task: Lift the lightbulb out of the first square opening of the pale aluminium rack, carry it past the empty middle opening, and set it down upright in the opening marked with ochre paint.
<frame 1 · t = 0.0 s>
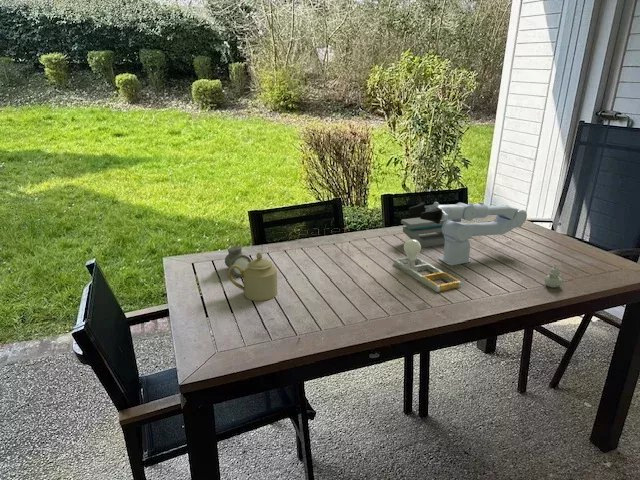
hand: (414, 213, 161), 22 cm above the table, fingers open, 7 cm apart
rack: (424, 274, 163), on the table
sugar bowl: (256, 295, 148), on the table
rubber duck: (552, 286, 152), on the table
lightbulb: (411, 267, 170), resting in rack
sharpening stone: (429, 243, 196), on the table
pipe fitting: (237, 272, 168), on the table
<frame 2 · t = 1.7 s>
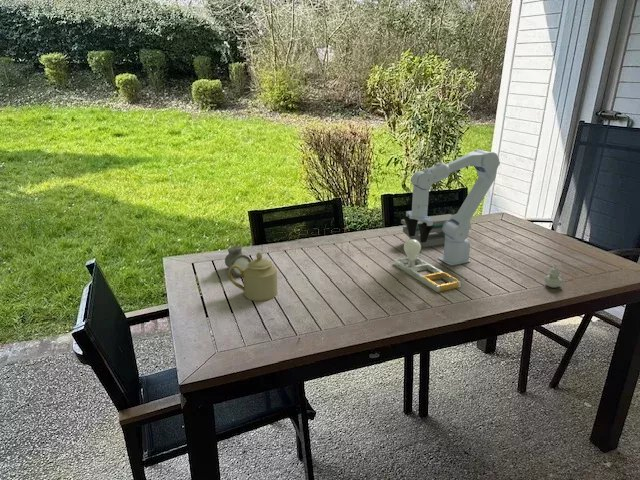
hand: (417, 239, 169), 10 cm above the table, fingers open, 7 cm apart
nothing on the table moved.
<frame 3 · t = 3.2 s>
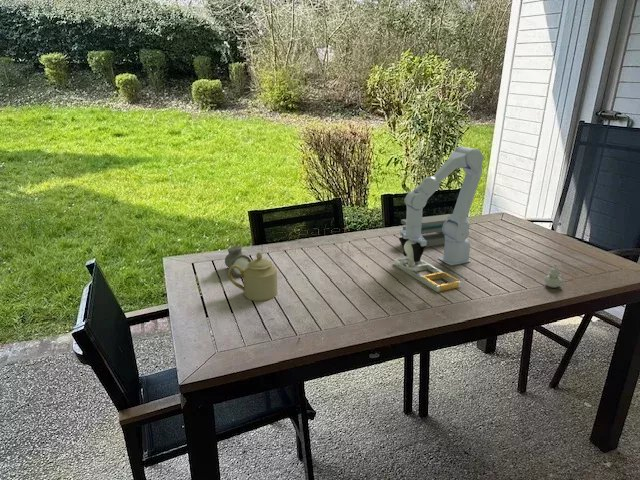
hand: (411, 258, 169), 3 cm above the table, fingers closed on lightbulb, 6 cm apart
lightbulb: (411, 267, 170), resting in rack, touching gripper
everything else where it was.
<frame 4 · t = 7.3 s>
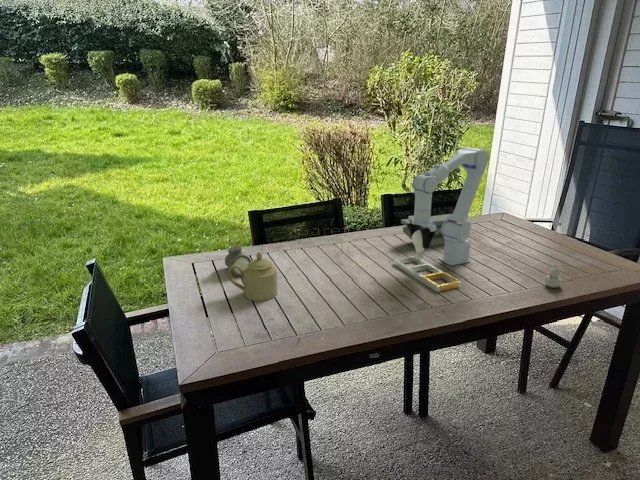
hand: (420, 244, 163), 10 cm above the table, fingers closed on lightbulb, 6 cm apart
lightbulb: (419, 259, 164), point 5 cm above the table, touching gripper
everything else where it was.
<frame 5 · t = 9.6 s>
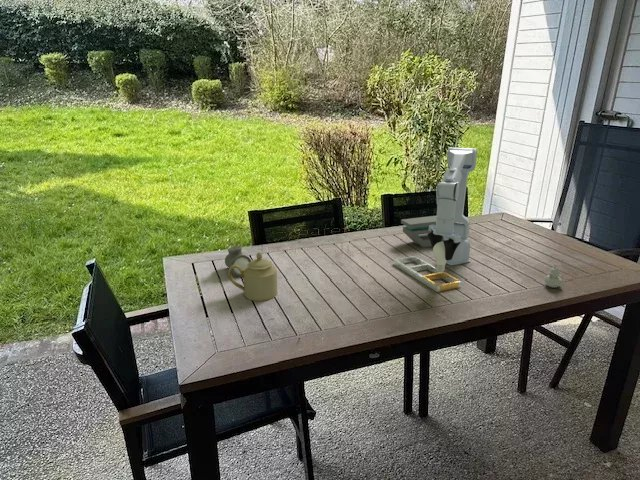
hand: (442, 256, 152), 10 cm above the table, fingers closed on lightbulb, 6 cm apart
lightbulb: (440, 272, 154), point 4 cm above the table, touching gripper
everything else where it was.
when the fingers open (4 cm above the table, at t = 11.6 s): lightbulb stays where it is, resting in rack.
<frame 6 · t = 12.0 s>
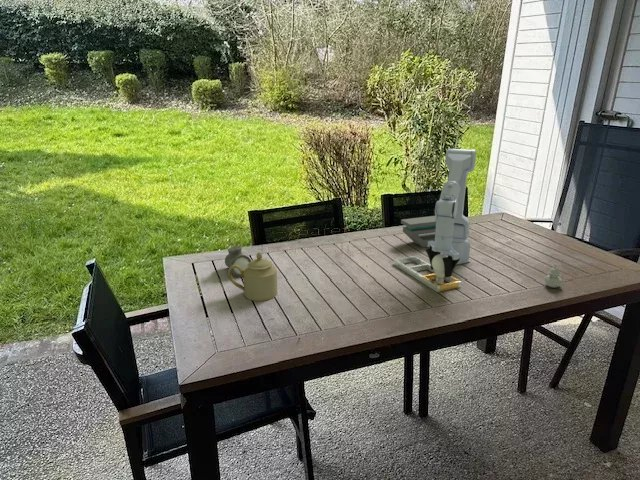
hand: (440, 272, 154), 4 cm above the table, fingers open, 7 cm apart
lightbulb: (439, 284, 155), resting in rack
everything else where it was.
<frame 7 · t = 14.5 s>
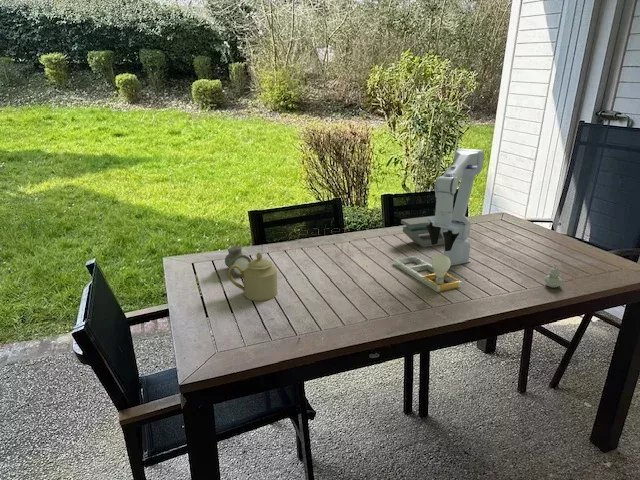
hand: (440, 247, 160), 10 cm above the table, fingers open, 7 cm apart
nothing on the table moved.
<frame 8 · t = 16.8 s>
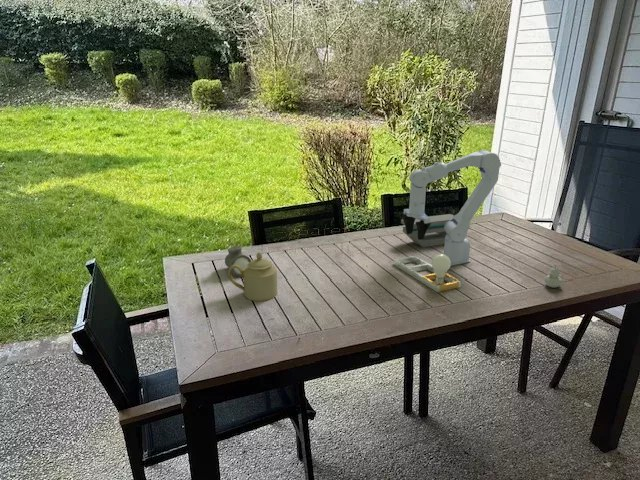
hand: (415, 236, 172), 10 cm above the table, fingers open, 7 cm apart
nothing on the table moved.
at the end: lightbulb 0.2 cm from the target spot on the rack, point 0.0 cm above the rack's base; lightbulb tilted 0°; the gripper is holding nothing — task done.
